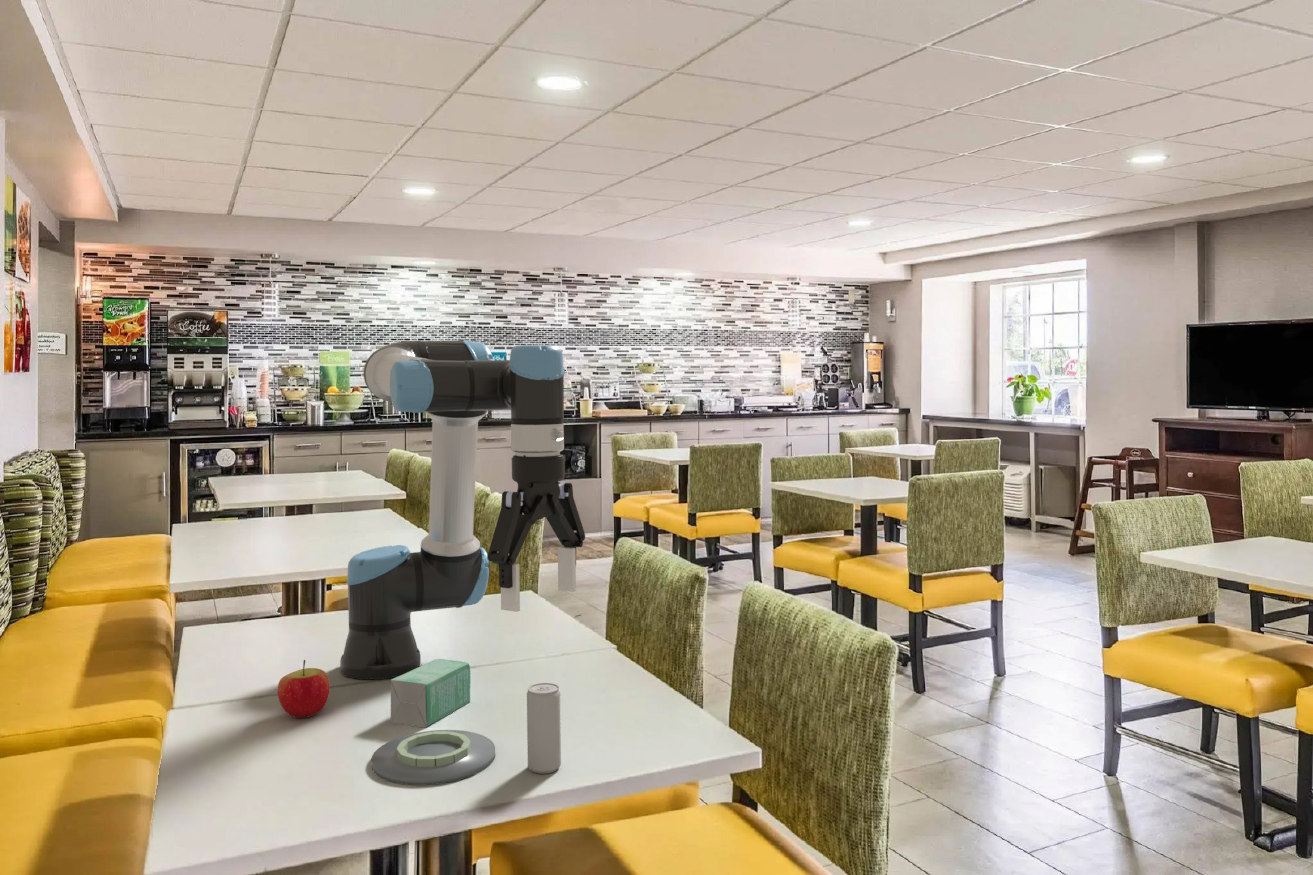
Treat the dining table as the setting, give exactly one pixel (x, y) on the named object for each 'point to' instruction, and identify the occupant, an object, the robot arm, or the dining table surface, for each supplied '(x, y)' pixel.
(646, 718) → the dining table surface
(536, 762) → the beverage can
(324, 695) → the apple
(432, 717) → the box
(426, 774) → the tray
